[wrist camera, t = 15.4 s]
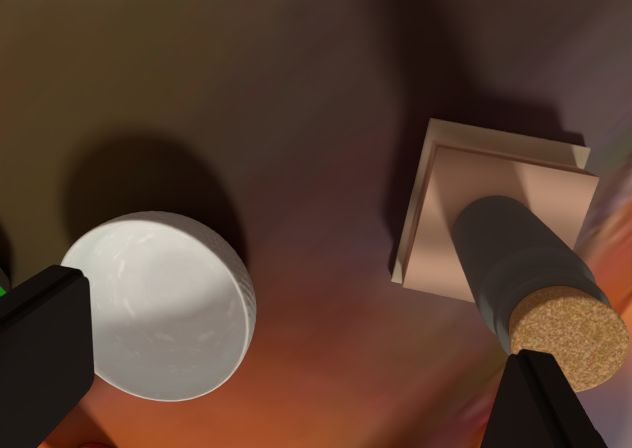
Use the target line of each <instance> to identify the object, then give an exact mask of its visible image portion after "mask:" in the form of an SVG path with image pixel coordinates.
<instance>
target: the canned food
mask: <svg viewBox="0 0 632 448" xmlns="http://www.w3.org/2000/svg"><path fill="white" fill-rule="evenodd" d="M78 448H110V447H108V446H105V445H102V444H97V443H88V444H84V445H82V446H80V447H78Z"/></svg>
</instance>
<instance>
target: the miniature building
mask: <svg viewBox="0 0 632 448" xmlns="http://www.w3.org/2000/svg"><path fill="white" fill-rule="evenodd" d="M9 291H10V281H9V279H8V278H7V276H6V275H5V273H4V272H3V270H2V269H1V267H0V296H2V295H4V294H5V293H7V292H9Z"/></svg>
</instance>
